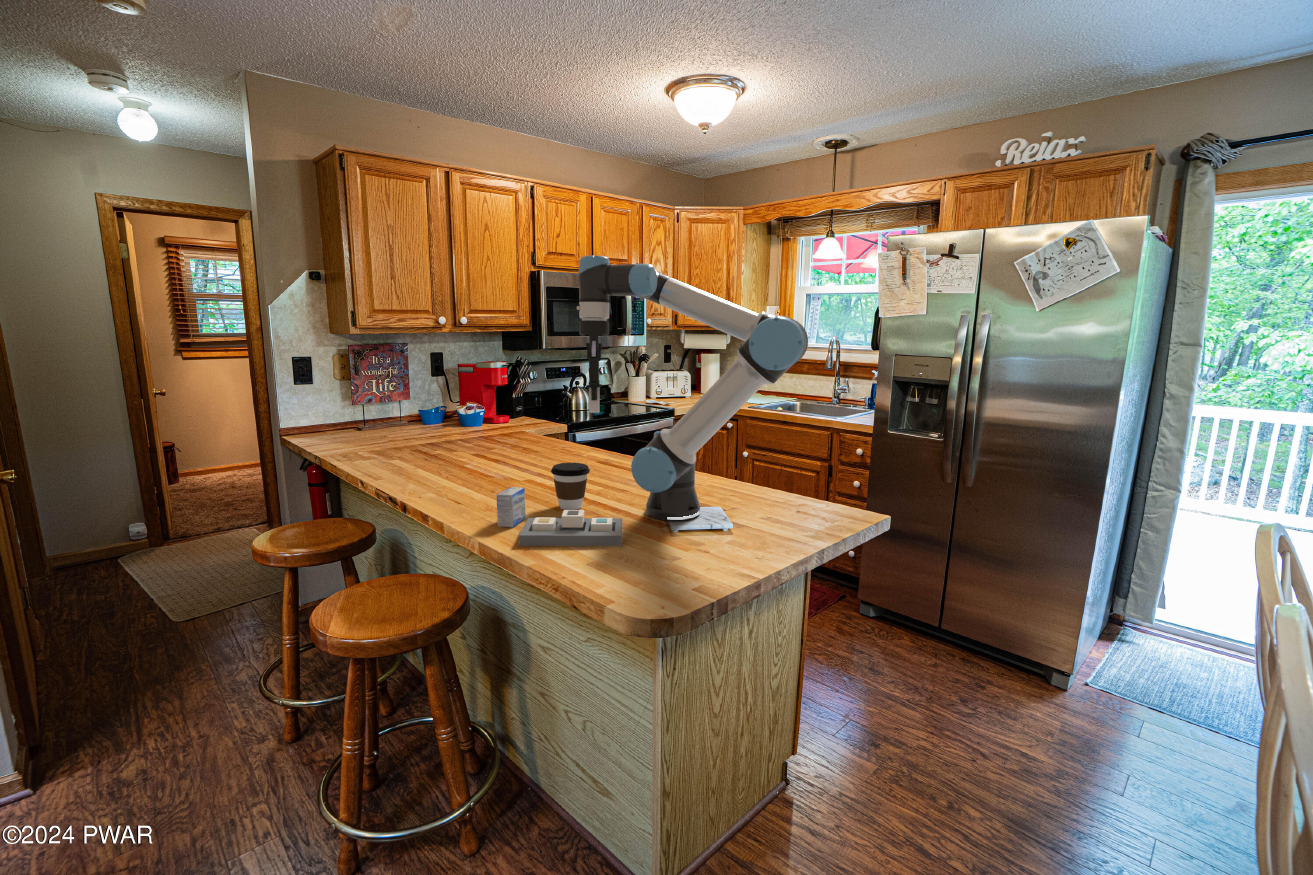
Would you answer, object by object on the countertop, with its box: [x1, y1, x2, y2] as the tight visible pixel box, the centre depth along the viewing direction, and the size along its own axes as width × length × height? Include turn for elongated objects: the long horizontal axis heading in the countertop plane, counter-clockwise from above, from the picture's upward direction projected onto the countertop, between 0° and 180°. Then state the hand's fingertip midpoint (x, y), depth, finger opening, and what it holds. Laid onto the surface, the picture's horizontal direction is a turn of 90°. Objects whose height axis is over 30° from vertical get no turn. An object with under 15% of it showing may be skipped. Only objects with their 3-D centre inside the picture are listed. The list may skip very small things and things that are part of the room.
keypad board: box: [518, 517, 623, 547], centre depth 145 cm, size 24×13×3 cm, turn 93°
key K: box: [561, 509, 585, 528], centre depth 145 cm, size 5×5×3 cm
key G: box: [532, 516, 557, 531], centre depth 145 cm, size 5×5×3 cm
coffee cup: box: [550, 462, 591, 511], centre depth 169 cm, size 11×11×12 cm
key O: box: [591, 517, 613, 531], centre depth 146 cm, size 5×5×3 cm
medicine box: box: [496, 486, 526, 529], centre depth 154 cm, size 8×4×9 cm, turn 168°
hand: (594, 412), depth 154 cm, fingers closed
